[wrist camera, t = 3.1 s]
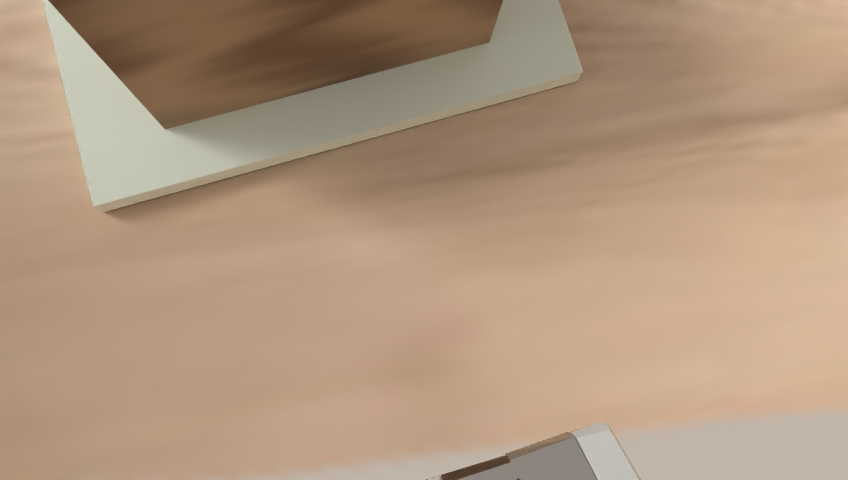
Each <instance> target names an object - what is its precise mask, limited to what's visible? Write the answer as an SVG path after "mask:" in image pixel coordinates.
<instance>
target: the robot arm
mask: <svg viewBox="0 0 848 480" xmlns="http://www.w3.org/2000/svg"><path fill="white" fill-rule="evenodd" d="M441 478H442V479H441ZM427 480H640V478H639V476H638V474H637V473H636V471H635V469H634V467H633V466H632V464H631V462H630V461H629V459H628V457H627V456H626V454H625V452H624V450H623V449H622V447H621V445H620V444H619V442H618V440H617V439H616V437H615V435H614V434H613V432H612V430H611V428H610V427H609V426H608V425H607V424H606V423H604V422H598V423H595V424H593V425H590V426H587V427H584V428H581V429H578V430H576V431H573V432H570V433H569V432H566V433H563V434H560V435H558V436H555V437H552V438H549V439H546V440H543V441H541V442H538V443H535V444H532V445H529V446H526V447H523V448H521V449H518V450H515V451H512V452H509V453H506V454H505V455H504V456H501V457H498V458H495V459H491V460H488V461H485V462H482V463H478V464H475V465H472V466H469V467H466V468H462V469H459V470H456V471H453V472H449V473H446V474H443V475H441V477H440V475H439V476H436V477H433V478H430V479H427Z"/></svg>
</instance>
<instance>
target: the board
mask: <svg viewBox="0 0 848 480" xmlns="http://www.w3.org/2000/svg"><path fill="white" fill-rule="evenodd" d="M42 1H43V5H44V9H45V13H46V17H47V21H48V25H49V30H50V34H51V38H52V42H53V46H54V50H55V54H56V58H57V62H58V66H59V71H60V75H61V79H62V83H63V87H64V91H65V95H66V99H67V103H68V107H69V111H70V116H71V120H72V124H73V128H74V132H75V136H76V140H77V144H78V148H79V152H80V156H81V161H82V165H83V169H84V173H85V177H86V181H87V185H88V189H89V193H90V197H91V202H92V206H93V207H94V208H96V209H98V210H100V211H101V212H106V211H110V210H114V209H117V208H121V207H125V206H128V205H132V204H135V203H139V202H143V201H146V200H150V199H154V198H157V197H161V196H164V195H168V194H172V193H175V192H179V191H182V190H186V189H190V188H193V187H197V186H201V185H204V184H208V183H211V182H215V181H219V180H222V179H226V178H229V177H233V176H237V175H240V174H244V173H248V172H251V171H255V170H258V169H262V168H266V167H269V166H273V165H277V164H280V163H284V162H287V161H291V160H295V159H298V158H302V157H305V156H309V155H313V154H316V153H320V152H324V151H327V150H331V149H334V148H338V147H342V146H345V145H349V144H353V143H356V142H360V141H363V140H367V139H371V138H374V137H378V136H381V135H385V134H389V133H392V132H396V131H400V130H403V129H407V128H410V127H414V126H418V125H421V124H425V123H428V122H432V121H436V120H439V119H443V118H447V117H450V116H454V115H457V114H461V113H465V112H468V111H472V110H476V109H479V108H483V107H486V106H490V105H494V104H497V103H501V102H504V101H508V100H512V99H515V98H519V97H523V96H526V95H530V94H533V93H537V92H541V91H544V90H548V89H551V88H555V87H559V86H562V85H566V84H570V83H573V82H577V81H578V79H579V78H580V76H581V75H582V73H583V72H584V71H583V68H582V65H581V63H580V60H579V57H578V54H577V51H576V48H575V45H574V43H573V40H572V37H571V34H570V31H569V28H568V25H567V23H566V20H565V17H564V14H563V11H562V8H561V5H560V3H559V0H503V2H502V5H501V8H500V11H499V14H498V18H497V21H496V24H495V27H494V30H493V33H492V36H491V39H490V42H489V43H486V44H482V45H478V46H475V47H471V48H467V49H463V50H460V51H456V52H452V53H448V54H445V55H441V56H437V57H434V58H430V59H426V60H422V61H419V62H415V63H411V64H407V65H404V66H400V67H396V68H392V69H389V70H385V71H381V72H378V73H374V74H370V75H366V76H363V77H359V78H355V79H351V80H348V81H344V82H340V83H337V84H333V85H329V86H325V87H322V88H318V89H314V90H310V91H307V92H303V93H299V94H295V95H292V96H288V97H284V98H281V99H277V100H273V101H269V102H266V103H262V104H258V105H254V106H251V107H247V108H243V109H240V110H236V111H232V112H228V113H225V114H221V115H217V116H213V117H210V118H206V119H202V120H198V121H195V122H191V123H187V124H184V125H180V126H176V127H172V128H169V129H164V128H163V127H162V126H161V124H160V123H159V122H158V121H157V120H156V119H155V118H154V117H153V116H152V115H151V113H150V112H149V111H148V110H147V109H146V108H145V107H144V106H143V105H142V104H141V102H140V101H139V100H138V99H137V98H136V97H135V96H134V95H133V94H132V92H131V91H130V90H129V89H128V88H127V87H126V86H125V85H124V84H123V83H122V81H121V80H120V79H119V78H118V77H117V76H116V75H115V74H114V73H113V71H112V70H111V69H110V68H109V67H108V66H107V65H106V64H105V63H104V62H103V60H102V59H101V58H100V57H99V56H98V55H97V54H96V53H95V52H94V50H93V49H92V48H91V47H90V46H89V45H88V44H87V43H86V42H85V41H84V39H83V38H82V37H81V36H80V35H79V34H78V33H77V32H76V31H75V30H74V28H73V27H72V26H71V25H70V24H69V23H68V22H67V21H66V20H65V18H64V17H63V16H62V15H61V14H60V13H59V12H58V11H57V10H56V9H55V7H54V6H53V5H52V4H51V3H50V2H49V1H48V0H42Z"/></svg>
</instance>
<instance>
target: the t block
mask: <svg viewBox="0 0 848 480" xmlns="http://www.w3.org/2000/svg"><path fill="white" fill-rule="evenodd" d="M48 1H49V2H50V3H51V4H52V5H53V6H54V7H55V9H56V10H57V11H58V12H59V13H60V14H61V15H62V16H63V17H64V18H65V20H66V21H67V22H68V23H69V24H70V25H71V26H72V27H73V28H74V30H75V31H76V32H77V33H78V34H79V35H80V36H81V37H82V38H83V39H84V41H85V42H86V43H87V44H88V45H89V46H90V47H91V48H92V49H93V50H94V52H95V53H96V54H97V55H98V56H99V57H100V58H101V59H102V60H103V62H104V63H105V64H106V65H107V66H108V67H109V68H110V69H111V70H112V71H113V73H114V74H115V75H116V76H117V77H118V78H119V79H120V80H121V81H122V83H123V84H124V85H125V86H126V87H127V88H128V89H129V90H130V91H131V92H132V94H133V95H134V96H135V97H136V98H137V99H138V100H139V101H140V102H141V104H142V105H143V106H144V107H145V108H146V109H147V110H148V111H149V112H150V113H151V115H152V116H153V117H154V118H155V119H156V120H157V121H158V122H159V123H160V124H161V126H162V127H163V128H164V129H169V128H172V127H176V126H180V125H184V124H187V123H191V122H195V121H198V120H202V119H206V118H210V117H213V116H217V115H221V114H225V113H228V112H232V111H236V110H240V109H243V108H247V107H251V106H254V105H258V104H262V103H266V102H269V101H273V100H277V99H281V98H284V97H288V96H292V95H295V94H299V93H303V92H307V91H310V90H314V89H318V88H322V87H325V86H329V85H333V84H337V83H340V82H344V81H348V80H351V79H355V78H359V77H363V76H366V75H370V74H374V73H378V72H381V71H385V70H389V69H392V68H396V67H400V66H404V65H407V64H411V63H415V62H419V61H422V60H426V59H430V58H434V57H437V56H441V55H445V54H448V53H452V52H456V51H460V50H463V49H467V48H471V47H475V46H478V45H482V44H486V43H489V42H490V39H491V36H492V33H493V30H494V27H495V24H496V21H497V18H498V14H499V11H500V8H501V5H502V2H503V0H48Z"/></svg>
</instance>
